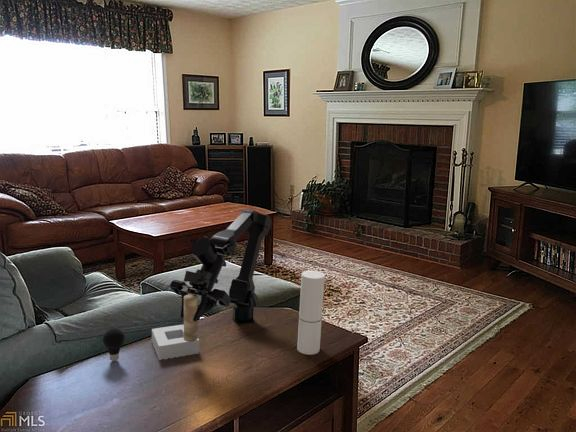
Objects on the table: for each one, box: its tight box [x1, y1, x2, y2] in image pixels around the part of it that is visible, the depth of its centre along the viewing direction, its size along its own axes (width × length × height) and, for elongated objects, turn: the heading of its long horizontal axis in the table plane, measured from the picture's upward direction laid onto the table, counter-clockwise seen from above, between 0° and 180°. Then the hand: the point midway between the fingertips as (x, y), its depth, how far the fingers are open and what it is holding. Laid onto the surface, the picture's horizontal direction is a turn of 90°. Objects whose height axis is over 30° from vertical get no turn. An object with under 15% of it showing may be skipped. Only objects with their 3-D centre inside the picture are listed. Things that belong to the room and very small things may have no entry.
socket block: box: [151, 323, 200, 361], centre depth 147 cm, size 12×12×4 cm
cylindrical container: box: [296, 270, 326, 356], centre depth 149 cm, size 7×7×25 cm
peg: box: [183, 294, 199, 342], centre depth 139 cm, size 4×4×13 cm
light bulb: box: [102, 327, 125, 362], centre depth 137 cm, size 6×6×10 cm
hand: (187, 319), depth 137 cm, fingers closed on peg, 4 cm apart
